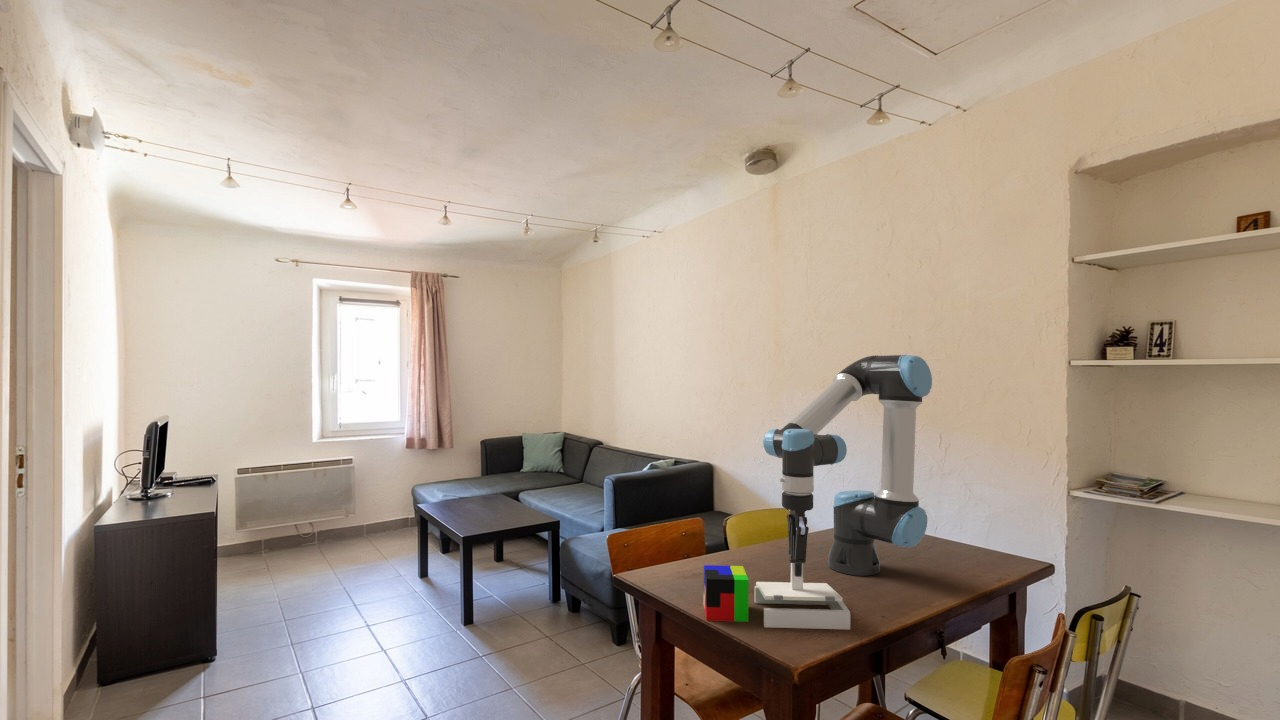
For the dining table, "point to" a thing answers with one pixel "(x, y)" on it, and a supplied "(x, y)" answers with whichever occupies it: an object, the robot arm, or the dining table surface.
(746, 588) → the puzzle toy
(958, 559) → the dining table surface
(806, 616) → the white hinged box
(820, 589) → the cover
